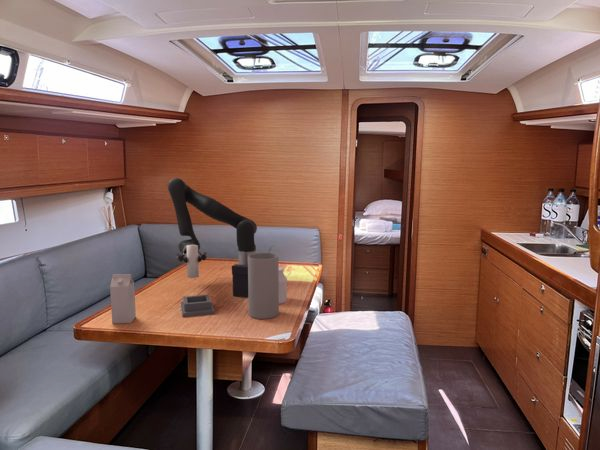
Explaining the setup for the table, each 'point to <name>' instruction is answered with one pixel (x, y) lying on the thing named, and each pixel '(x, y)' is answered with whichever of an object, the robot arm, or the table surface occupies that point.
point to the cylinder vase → (263, 285)
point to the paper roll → (192, 261)
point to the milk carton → (122, 298)
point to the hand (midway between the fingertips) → (193, 260)
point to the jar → (282, 286)
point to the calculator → (240, 280)
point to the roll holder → (196, 305)
